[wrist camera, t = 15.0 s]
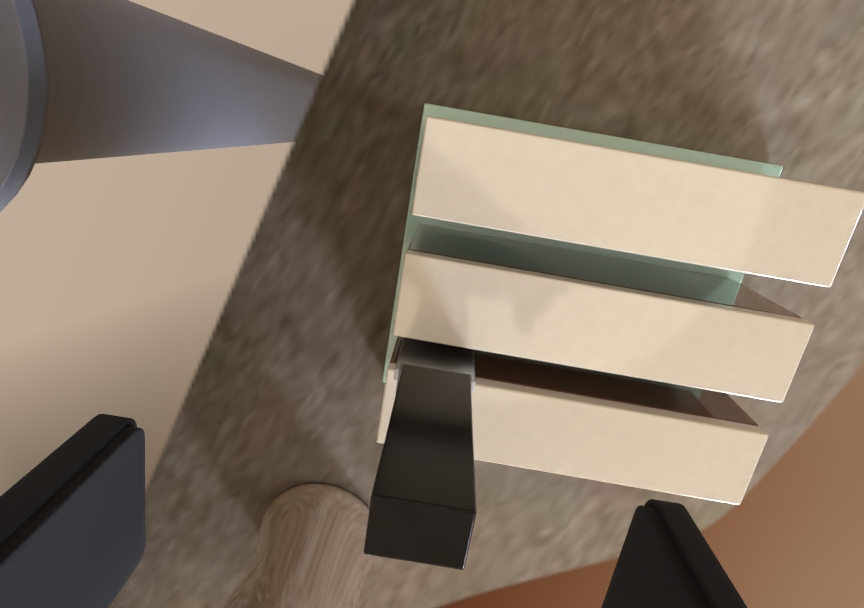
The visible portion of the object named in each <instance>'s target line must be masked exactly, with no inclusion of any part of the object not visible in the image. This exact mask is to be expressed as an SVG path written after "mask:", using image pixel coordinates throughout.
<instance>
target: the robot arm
mask: <svg viewBox="0 0 864 608" xmlns="http://www.w3.org/2000/svg"><path fill="white" fill-rule="evenodd" d="M144 548H145V435H144V431H143V429H141V428H137V425H136V422H135V420H133V419H132V418H125V417H119V416H113V415H106V414H99V415H97V416H96V417H94V418H93V419H92V420H91V421H89V422H88V423H87V424H86V425H85V426H83V427H82V428H81V429H80V430H79V431H77V432H76V433H75V434H74V435H73V436H72V437H70V438H69V439H68V440H67V441H66V442H64V443H63V444H62V445H61V446H60V447H59V448H57V449H56V450H55V451H54V452H53V453H51V454H50V455H49V456H48V457H47V458H46V459H44V460H43V461H42V462H41V463H40V464H39V465H37V466H36V467H35V468H34V469H32V470H31V471H30V472H29V473H28V474H26V475H25V476H24V477H23V478H22V479H21V480H19V481H18V482H17V483H16V484H15V485H13V486H12V487H11V488H10V489H9V490H8V491H6V492H5V493H4V494H3V495H2V496H0V608H108V607H109V606H110V604H111V603H112V602H113V600H114V599H115V597H116V596H117V594H118V593H119V591H120V590H121V589H122V587H123V586H124V584H125V583H126V581H127V580H128V578H129V577H130V576H131V574H132V573H133V571H134V570H135V568H136V567H137V565H138V564H139V562H140V560H141V558H142V555H143V552H144ZM602 608H747V606H746V605H745V603H744V601H743V600H742V598H741V597H740V595H739V593H738V592H737V590H736V589H735V587H734V585H733V584H732V582H731V581H730V579H729V577H728V576H727V574H726V572H725V571H724V570H723V568H722V566H721V564H720V563H719V561H718V560H717V558H716V556H715V555H714V553H713V552H712V550H711V548H710V547H709V545H708V544H707V542H706V540H705V539H704V537H703V536H702V534H701V532H700V531H699V529H698V527H697V526H696V524H695V523H694V521H693V519H692V518H691V516H690V515H689V513H688V511H687V510H686V508H685V507H684V506H683V505H681V504H679V503H673V502H666V501H660V500H654V499H651V500H648V501H647V502H646V504H645V506H638V507H637V508H636V511H635V513H634V516H633V519H632V522H631V524H630V527H629V530H628V533H627V536H626V539H625V542H624V545H623V547H622V550H621V553H620V556H619V559H618V562H617V565H616V568H615V570H614V573H613V576H612V579H611V582H610V585H609V588H608V591H607V594H606V596H605V599H604V602H603V605H602Z"/></svg>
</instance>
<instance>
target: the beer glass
mask: <svg viewBox="0 0 864 608" xmlns="http://www.w3.org/2000/svg"><path fill="white" fill-rule="evenodd" d="M368 516H369V509H368V507H367V506H366V505H365V504H364V503H363V502H362V501H361V500H360V499H358V498H357V497H356V496H354V495H353V494H351V493H349V492H347V491H345V490H343V489H341V488H338V487H335V486H331V485H325V484H305V485H300V486H296V487H293V488H291V489H288V490H286V491H285V492H283V493H282V494H280V495H279V496H278V497H277V498H275V499H274V500H273V502H272V503H271V504H270V505H269V507H268V508H267V510H266V512H265V514H264V517H263V520H262V523H261V527H260V531H259V535H258V539H257V544H256V548H255V551H254V554H253V557H252V559H251V562H250V564H249V566H248V568H247V569H246V571H245V573H244V575H243V576H242V578H241V579H240V581H239V582H238V584H237V585H236V586H235V588H234V589H233V591H232V592H231V594H230V595H229V596H228V598H227V599H226V600H225V601H224V603H223V604H222V605H221V607H220V608H358V601H359V596H360V592H361V588H362V586H363V583H364V580H365V578H366V576H367V574H368V572H369V569H370V567H371V565H372V563H373V561H374V558H375V556H373V555H367V554H364V544H365V537H366V530H367V523H368Z"/></svg>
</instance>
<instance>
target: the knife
mask: <svg viewBox="0 0 864 608" xmlns="http://www.w3.org/2000/svg"><path fill="white" fill-rule="evenodd" d="M394 380H397V386H396V393H395V395H396V396H395V400H394V404H393V408H392V412H391V417H390V421H389V425H388V429H387V433H386V437H385V441H384V445H383V450H382V454H381V458H380V462H379V466H378V470H377V474H376V479H375V483H374V487H373V491H372V495H371V502H370V509H369V516H368V523H367V530H366V537H365V544H364V554H367V555H373V556H379V557H386V558H392V559H398V560H404V561H410V562H417V563H423V564H429V565H435V566H441V567H447V568H454V569H460V570H463V569H464V567H465V563H466V559H467V554H468V549H469V545H470V540H471V536H472V531H473V526H474V522H475V517H476V492H475V469H474V445H473V421H472V397H471V392H473V391H474V387H475V366H474V350H473V349H469V348H463V347H457V346H451V345H446V344H440V343H434V342H428V341H423V340H417V339H411V338H405V337H403V341H402V345H401V348H400V352H399V356H398V360H397V363H396V367H395V372H394Z"/></svg>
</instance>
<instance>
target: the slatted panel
mask: <svg viewBox="0 0 864 608" xmlns="http://www.w3.org/2000/svg"><path fill="white" fill-rule="evenodd" d="M782 168H783V166H781V165H776V164H770V163H764V162H758V161H753V160H747V159H741V158H736V157H730V156H724V155H719V154H713V153H707V152H701V151H696V150H690V149H684V148H679V147H673V146H667V145H661V144H656V143H650V142H644V141H639V140H633V139H627V138H622V137H616V136H610V135H604V134H599V133H593V132H587V131H582V130H576V129H570V128H564V127H559V126H553V125H547V124H542V123H536V122H530V121H525V120H519V119H513V118H507V117H502V116H496V115H490V114H485V113H479V112H473V111H468V110H462V109H456V108H450V107H445V106H439V105H433V104H428V103H425V104H424V108H423V115H422V122H421V128H420V135H419V141H418V148H417V154H416V161H415V168H414V174H413V181H412V187H411V194H410V201H409V207H408V214H407V220H406V227H405V234H404V240H403V247H402V253H401V260H400V267H399V273H398V280H397V286H396V293H395V300H394V306H393V313H392V319H391V326H390V333H389V339H388V346H387V352H386V359H385V366H384V372H383V379H382V382H385V388H384V395H383V401H382V408H381V414H380V421H379V427H378V434H377V442H378V443H382V444H384V441H385V437H386V433H387V429H388V425H389V421H390V417H391V412H392V408H393V404H394V400H395V396H396V395H395V393H396V386H397V380H394V372H395V367H396V363H397V360H398V356H399V352H400V348H401V345H402V341H403V337H405V338H411V339H417V340H423V341H428V342H434V343H440V344H446V345H451V346H457V347H463V348H469V349H473V350H474V366H475V387H474V391H473V392H471V397H472V421H473V445H474V459H475V460H481V461H487V462H492V463H498V464H504V465H510V466H516V467H521V468H527V469H533V470H539V471H545V472H550V473H556V474H562V475H568V476H574V477H579V478H585V479H591V480H597V481H603V482H608V483H614V484H620V485H626V486H632V487H637V488H643V489H649V490H655V491H661V492H666V493H672V494H678V495H684V496H689V497H695V498H701V499H707V500H713V501H718V502H724V503H730V504H736V505H740V503H741V501H742V498H743V496H744V494H745V491H746V489H747V486H748V484H749V482H750V479H751V477H752V474H753V472H754V470H755V467H756V465H757V462H758V460H759V458H760V455H761V453H762V450H763V448H764V446H765V443H766V441H767V438H768V434H767V433H766V432H765V431H764V430H763V429H762V428H761V427H759V426H758V424H757V423H756V422H755V421H754V420H753V419H752V418H751V417H750V416H749V415H748V414H747V413H746V412H745V411H744V410H743V409H742V408H741V407H740V406H739V405H738V404H737V403H736V402H735V401H734V400H733V399H732V398H731V397H730V396H729V395H728V394H734V395H740V396H746V397H751V398H757V399H763V400H769V401H775V402H780V403H782V402H783V400H784V398H785V396H786V393H787V391H788V388H789V386H790V384H791V381H792V379H793V376H794V374H795V371H796V369H797V367H798V364H799V362H800V359H801V357H802V355H803V352H804V350H805V347H806V345H807V343H808V340H809V338H810V335H811V333H812V331H813V328H814V324H812V323H810V322H809V321H807V320H805V319H802V318H801V317H799V316H798V315H796V314H794V313H792V312H790V311H789V310H787V309H785V308H783V307H781V306H780V305H778V304H776V303H774V302H772V301H771V300H769V299H767V298H765V297H763V296H762V295H760V294H758V293H756V292H754V291H753V290H751V289H749V288H747V287H745V286H744V285H742V284H741V282H742V279H743V276H744V273H747V274H753V275H759V276H764V277H770V278H776V279H782V280H787V281H793V282H799V283H805V284H810V285H816V286H822V287H830V286H831V285H832V282H833V280H834V277H835V275H836V273H837V270H838V268H839V265H840V263H841V261H842V258H843V256H844V253H845V251H846V249H847V246H848V244H849V241H850V239H851V237H852V234H853V232H854V229H855V227H856V225H857V222H858V220H859V217H860V215H861V213H862V210H863V208H864V192H859V191H854V190H848V189H842V188H837V187H831V186H825V185H820V184H814V183H808V182H802V181H797V180H791V179H785V178H780V177H779V176H780V173H781V171H782ZM727 393H728V394H727Z"/></svg>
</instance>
